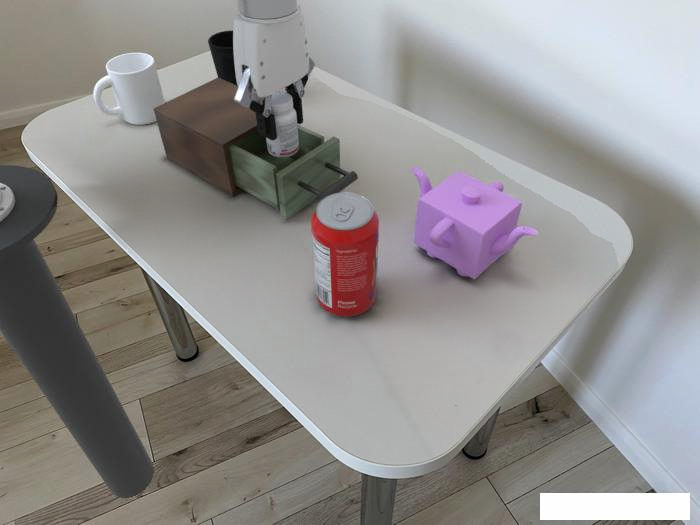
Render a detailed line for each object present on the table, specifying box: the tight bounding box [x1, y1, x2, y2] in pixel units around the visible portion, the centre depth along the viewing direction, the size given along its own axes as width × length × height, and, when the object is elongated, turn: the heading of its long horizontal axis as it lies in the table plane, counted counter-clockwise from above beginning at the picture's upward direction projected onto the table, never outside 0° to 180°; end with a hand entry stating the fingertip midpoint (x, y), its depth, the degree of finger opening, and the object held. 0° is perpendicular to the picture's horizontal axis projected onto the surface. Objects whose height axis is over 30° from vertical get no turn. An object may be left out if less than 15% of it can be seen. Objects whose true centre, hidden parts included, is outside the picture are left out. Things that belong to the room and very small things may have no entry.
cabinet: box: [154, 77, 263, 197], centre depth 95 cm, size 17×14×10 cm
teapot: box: [410, 166, 539, 280], centre depth 78 cm, size 15×13×11 cm
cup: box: [207, 30, 252, 92], centre depth 109 cm, size 8×8×12 cm
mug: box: [93, 52, 166, 126], centre depth 105 cm, size 12×8×10 cm
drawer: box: [228, 124, 359, 220], centre depth 88 cm, size 21×12×8 cm, turn 51°
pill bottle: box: [266, 91, 299, 157], centre depth 84 cm, size 5×5×8 cm
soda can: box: [310, 191, 380, 317], centre depth 70 cm, size 8×8×15 cm
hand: (281, 127), depth 84 cm, fingers closed on pill bottle, 4 cm apart
